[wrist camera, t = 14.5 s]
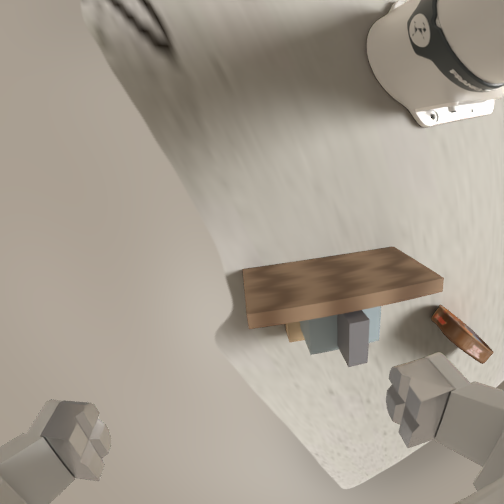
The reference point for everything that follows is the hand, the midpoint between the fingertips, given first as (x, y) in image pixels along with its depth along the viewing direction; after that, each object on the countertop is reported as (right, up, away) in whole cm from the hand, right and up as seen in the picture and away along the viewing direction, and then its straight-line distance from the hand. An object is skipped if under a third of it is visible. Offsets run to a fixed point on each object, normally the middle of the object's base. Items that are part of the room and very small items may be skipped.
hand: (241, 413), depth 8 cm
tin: (+33, -8, +37) cm, 50 cm away
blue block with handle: (+10, -2, +30) cm, 32 cm away
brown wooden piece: (+10, -1, +33) cm, 35 cm away
